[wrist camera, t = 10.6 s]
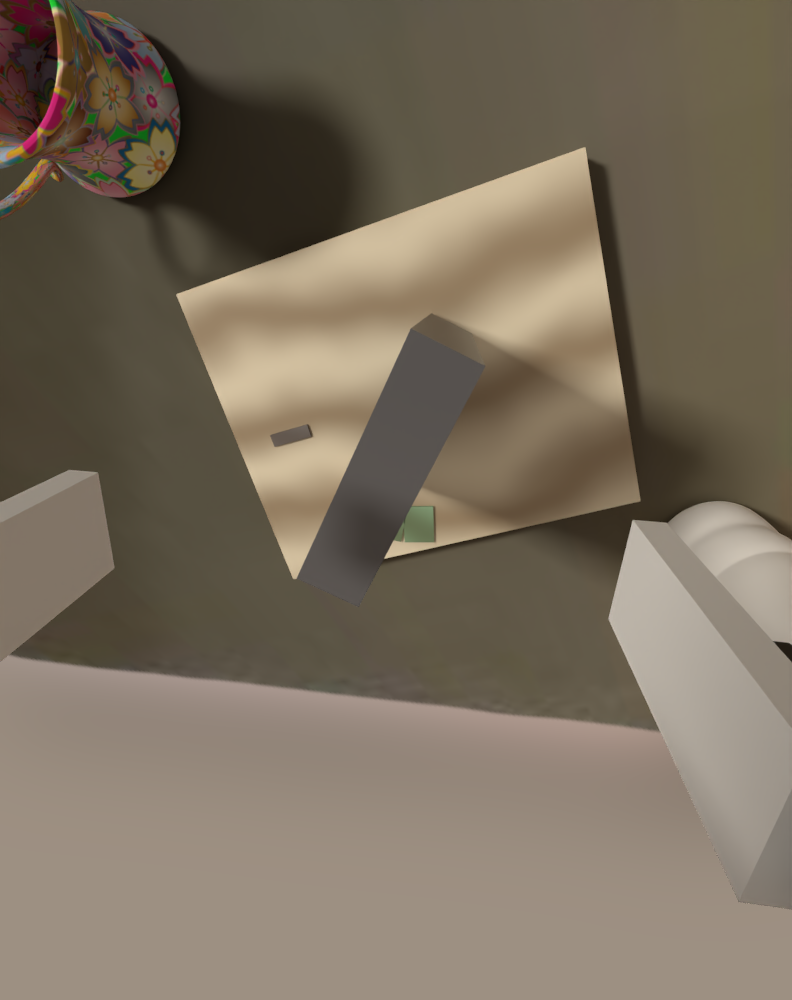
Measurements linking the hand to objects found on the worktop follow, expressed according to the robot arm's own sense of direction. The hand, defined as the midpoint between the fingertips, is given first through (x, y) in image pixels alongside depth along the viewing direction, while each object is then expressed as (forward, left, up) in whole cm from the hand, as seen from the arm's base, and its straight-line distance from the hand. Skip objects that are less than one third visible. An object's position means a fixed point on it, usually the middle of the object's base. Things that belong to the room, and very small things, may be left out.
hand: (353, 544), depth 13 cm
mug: (-19, -13, -23) cm, 32 cm away
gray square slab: (+2, -1, -20) cm, 21 cm away
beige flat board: (0, 0, -22) cm, 22 cm away
